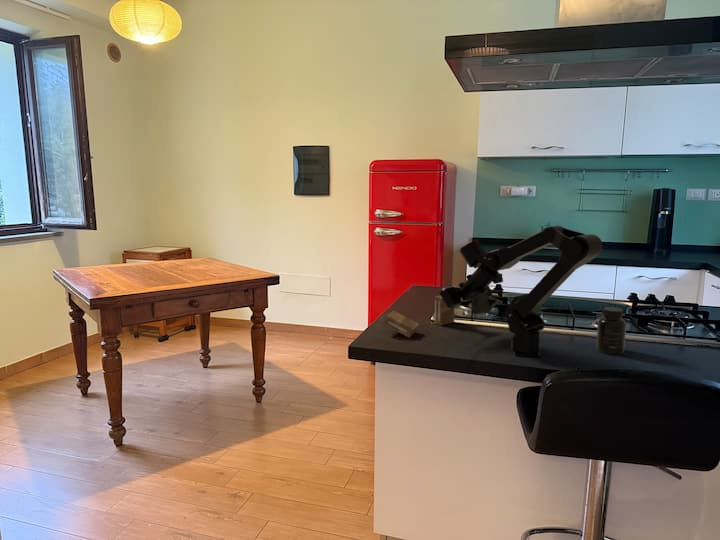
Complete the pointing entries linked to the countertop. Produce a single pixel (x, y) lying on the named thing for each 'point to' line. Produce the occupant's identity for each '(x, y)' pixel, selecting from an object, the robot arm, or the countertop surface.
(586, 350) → the countertop surface
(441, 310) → the block two
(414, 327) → the block one
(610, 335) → the supplement bottle
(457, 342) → the countertop surface
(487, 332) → the countertop surface
